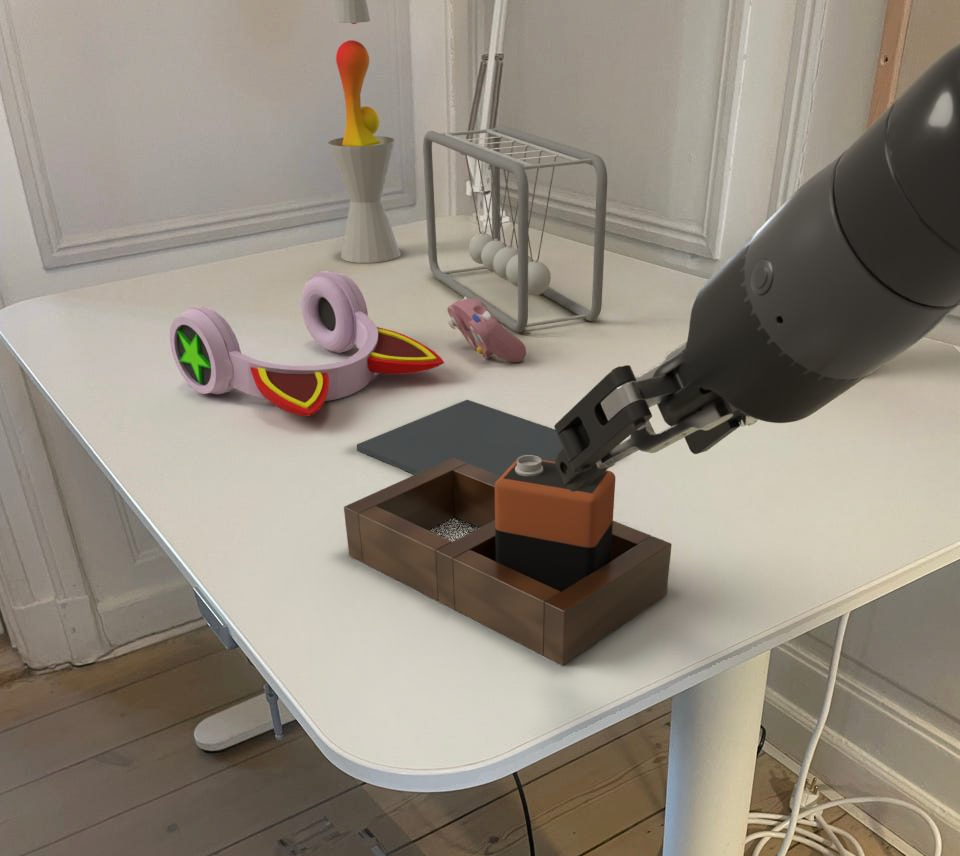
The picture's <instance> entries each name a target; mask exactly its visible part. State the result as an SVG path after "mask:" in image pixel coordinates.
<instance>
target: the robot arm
mask: <svg viewBox="0 0 960 856" xmlns="http://www.w3.org/2000/svg"><path fill="white" fill-rule="evenodd" d="M959 306H960V43H959V44H957V45H955V46H953V47H951V48H950V49H948V50H947V51H946V52H945V53H944V54H943V55H941V56H940V57H939V58H938V59H936V60H935V61H934V62H933V63H931V65H930V66H928V67H927V68H926V69H925V70H924V71H923V72H922V73H921V74H920V75H919V76H918V77H917V78H916V79H915V80H914V81H913V82H912V83H911V84H910V85H909V86H908V87H907V88H906V89H905V90H904V91H903V92H902V93H901V94H900V96H898V98H896V99H895V100H894V102H892V104H890V106H888V108H887V109H886V110H885V111H883V113H881V115H880V116H878V118H877V119H875V120H874V121H873V123H871V125H870V126H869V127H868V128H867V129H866V130H864V131H863V133H862V134H860V136H858V138H857V139H856V140H855V141H854V142H852V144H851V145H850V146H849V147H848V148H847V149H846V150H844V152H842V153H841V154H840V155H839V156H837V158H835V159H834V160H833V161H832V162H830V163H828V164H827V165H826V166H824V167H823V168H822V169H821V170H820V171H818V172H816V173H815V174H814V175H813V176H811V177H810V178H809V179H808V180H807V181H805V182H804V183H802V185H801V186H800V187H799V188H797V189H796V190H795V191H794V192H793V193H792V194H791V195H790V196H789V197H788V198H787V199H786V201H784V202H783V203H782V205H781V206H780V207H779V208H777V209H776V211H775V212H774V213H773V214H772V215H771V216H770V217H769V218H768V219H766V221H765V222H763V224H762V225H761V226H760V227H759V228H758V229H757V230H756V231H755V232H754V233H753V234H752V235H751V236H750V237H749V238H748V239H747V240H746V241H745V242H744V243H743V244H742V245H741V246H740V247H739V248H738V249H737V250H736V251H735V252H734V253H733V254H732V255H731V257H729V258H728V259H727V260H726V261H725V262H724V263H723V265H721V266H720V267H719V269H718V270H716V272H715V273H713V275H712V276H710V277H709V279H707V281H706V282H705V283H704V284H703V285H702V286H701V288H700V290H699V291H698V293H697V294H696V297H695V298H694V301H693V304H692V307H691V312H690V318H689V326H688V334H687V340H686V342H683V343H682V344H680V345H679V346H677V347H675V348H673V349H672V350H670V351H668V352H667V353H666V354H665V356H664V358H663V360H662V361H661V362H659V363H658V364H657V365H655V366H653V367H651V368H650V369H648V370H646V371H645V372H642V373H640V374H639V375H637V376H635V374H634V370H633V369H632V367H631V365H630V364H626V365H621V366H617V367H615V368H613V369H612V370H610V372H608V373H607V374H606V375H605V376H604V377H603V378H602V379H601V380H600V381H599V382H598V383H597V384H596V385H594V386H593V388H592V389H590V390H589V392H588V393H586V394H585V395H584V396H583V397H582V398H581V399H580V400H579V401H578V402H577V403H576V404H575V405H574V406H572V408H571V409H569V411H568V412H566V414H565V415H564V416H563V417H561V419H559V420H558V422H556V423H555V424H554V426H553V427H554V428H553V429H555V430H556V432H557V434H558V437H559V439H560V441H561V444H562V446H563V448H564V449H563V450H562V451H561V452H560V453H559V454H558V455H557V458H556V459H555V464H556V466H557V468H558V471H559V473H560V475H561V478H562V480H563V482H564V485H565V486H566V485H567V487H568V488H569V490H570V491H572V492H574V491H577V490H581V489H584V488H586V487H587V486H588V485H589V484H590V483H592V482H593V481H594V480H595V479H596V478H597V477H599V476H600V475H601V474H602V473H603V472H605V471H606V470H608V469H609V468H612V467H614V466H615V465H616V463H618V462H620V461H622V460H623V459H625V458H627V457H629V456H631V455H633V454H635V453H636V452H638V451H640V452H643V453H648V454H649V453H650V454H655V453H658V452H659V451H662V450H663V449H664V448H667V447H669V446H671V445H673V444H675V443H677V442H678V441H680V440H682V439H685V442H686V444H687V447H688V448H689V451H690V452H691V453H692V454H694V455H698V454H701V453H705V452H708V451H709V450H711V448H713V447H715V446H716V445H717V444H719V443H720V442H721V441H722V440H724V439H725V438H726V437H728V436H729V435H731V434H732V433H733V432H734V431H736V430H737V429H738V428H740V427H745V426H749V427H750V426H752V425H755V424H756V423H758V421H763V422H766V423H772V424H787V423H795V422H798V421H801V420H804V419H807V418H808V417H810V416H812V415H813V414H815V413H817V411H819V410H821V409H822V408H823V407H825V406H826V405H828V404H829V403H831V402H832V401H833V400H835V399H837V398H838V397H840V396H841V395H842V394H844V393H846V392H847V391H848V390H849V389H852V388H853V387H855V386H856V385H857V384H859V383H860V382H861V381H863V380H865V379H866V378H868V377H869V376H870V375H872V374H873V373H874V372H876V371H878V370H879V369H881V368H882V367H883V366H884V365H886V364H888V363H890V362H891V361H892V360H893V359H895V358H896V357H898V356H899V355H901V354H902V353H904V352H905V351H907V350H908V349H910V348H911V347H912V346H914V345H915V344H917V343H918V342H919V341H921V340H922V339H923V338H925V337H926V336H927V335H928V334H929V333H930V332H932V331H933V330H934V329H935V328H936V327H937V326H938V325H940V324H941V323H942V322H943V321H944V320H945V319H946V318H947V317H948V316H949V315H950V314H951V313H953V311H954V310H956V309H957V308H959ZM656 405H657V408H658V410H659V412H660V414H661V417H662V419H663V422H665V423H666V424H667V426H670V427H668V428H666V429H663V430H662V431H660V432H658V433H656V432H655V430H654V428H653V426H652V424H651V421H650V419H652V418H653V414H652V411H651V409H650V408H652V407H653V406H656Z"/></svg>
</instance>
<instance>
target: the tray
mask: <svg viewBox="0 0 960 856" xmlns="http://www.w3.org/2000/svg"><path fill="white" fill-rule="evenodd" d="M500 477H501V476H498V475H496V474H493V473H491V472H488V471H486V470H483V469H481V468H478V467H475V466H473V465H470V464H467V463H465V462H463V461H460V460H458V459H455V458H451V459H449V460H447V461H444V462H442V463H440V464H438V465H436V466H433V467H431V468H429V469H427V470H424V471H422V472H420V473H418V474H412V475H411V476H409V477H406V478H404V479H402V480H400V481H398V482H396V483H393V484H391V485H389V486H387V487H385V488H382V489H379V490H377V491H375V492H373V493H371V494H369V495H366V496H365V497H362V498H360V499H358V500H356V501H353V502H351V503H349V504H346V505H345V506H343V512H344V521H345V522H344V523H345V531H346V539H347V549H348V555H349V556H350V557H351V558H354V559H355V560H357V561H359V562H362V563H363V564H366V565H367V566H369V567H371V568H373V569H375V570H377V571H379V572H381V573H383V574H384V575H387V576H388V577H391V578H392V579H394V580H396V581H398V582H399V583H400V582H401V583H402V584H404V585H405V586H408V587H409V588H411V589H413V590H415V591H417V592H419V593H422V594H423V595H425V596H427V597H428V598H431V599H433V600H435V601H437V602H439V603H440V604H443V605H445V606H446V607H449V608H450V609H452V610H455V611H456V612H458V613H460V614H462V615H464V616H466V617H468V618H470V619H471V620H474V621H475V622H477V623H478V624H479V623H480V624H481V625H483V626H485V627H487V628H490V629H491V630H493V631H495V632H497V633H499V634H501V635H503V636H504V637H507V638H509V639H510V640H513V641H514V642H517V643H518V644H520V645H522V646H524V647H526V648H528V649H530V650H531V651H534V652H536V653H537V654H539V655H541V656H544V657H546V658H547V659H549V660H551V661H553V662H555V663H557V664H559V665H560V666H564V665H566V664H567V663H569V662H570V661H572V660H573V659H575V658H576V657H577V656H579V655H581V654H582V653H583V652H585V651H587V650H588V649H589V648H591V647H592V646H594V645H596V644H597V643H598V642H599V641H601V640H602V639H604V638H605V637H607V636H608V635H610V634H611V633H612V632H615V630H617V629H618V628H620V627H621V626H623V625H624V624H626V623H627V622H629V621H630V620H631V619H633V618H634V617H636V616H637V615H639V614H640V613H642V612H643V611H645V610H646V609H648V608H649V607H651V606H652V605H654V604H655V603H656V602H658V601H660V600H661V599H662V598H664V597H665V596H667V593H668V585H669V575H670V564H671V554H672V546H673V545H672V543H671V542H668V541H666V540H664V539H661V538H658V537H656V536H653V535H651V534H649V533H646V532H644V531H641V530H638V529H636V528H633V527H631V526H628V525H625V524H623V523H620V522H618V521H616V520H613V527H612V544H611V560H610V562H609V563H608V564H606V565H604V566H603V567H601V568H599V569H598V570H596V571H595V572H593V573H591V574H590V575H588V576H586V577H585V578H583V579H582V580H580V581H578V582H577V583H575V584H573V585H572V586H570V587H569V588H567V589H565V590H564V591H562V592H560V591H558V590H556V589H554V588H552V587H549V586H547V585H545V584H543V583H541V582H539V581H536V580H534V579H532V578H530V577H528V576H526V575H523V574H521V573H519V572H517V571H515V570H513V569H510V568H508V567H506V566H504V565H502V564H500V563H497V562H496V539H495V483H496V481H497V480H498V479H499V478H500ZM453 518H456V519H459V520H461V521H464V522H465V523H468V524H471V525H472V526H474V527H477V528H476V529H474V530H473V531H471V532H469V533H467V534H465V535H462V536H461V537H459V538H457V539H454V540H453V541H452V540H450V539H448V538H445V537H443V536H441V535H439V534H437V533H435V532H432V531H431V529H433V528H435V527H437V526H439V525H441V524H443V523H445V522H447V521H449V520H451V519H453Z"/></svg>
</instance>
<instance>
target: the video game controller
mask: <svg viewBox="0 0 960 856" xmlns="http://www.w3.org/2000/svg"><path fill="white" fill-rule="evenodd" d="M446 310H447V314H448V315H449V317H450V319H447V321H448V325H449V327H450V328H451V329H452V330H456V328H457V329H458V331H460V333H461V334H462V335H463V337H464V338H465V340H466V341H467V343H468V344H469V346H470V347H471V348H472V349H473V350H474V351H476V352H477V354H478V355H481V356H482V357H483V358H484V359H486V360H487V359H489V358H491V357H492V356H494V355H495V356H497V357H499V358H501V359H502V360H505V361H508V362H511V363H519V362H522V361H524V359H525V358H526V356H527V348H526V345H525V344H524V342H523V341H521V339H519V338H518V337H517V336H515V335H514V334H512V333H511V332H509V331H508V330H507V329H506V328H505V327H504V326H503V324H502V323H501V322H500V321H498V320H497V319H496V318H495V317H494V316H493V315H492V314H491V313H490V312H489V311H488V308H487V307H486V305H485V304H484V303H483V302H481V301H479V300H476V299H467V298H466V296H465V297H463V299H457V300H456V301H455V302H453V303H452V304H450V305H449V306H448V307H447V308H446Z"/></svg>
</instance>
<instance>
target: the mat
mask: <svg viewBox="0 0 960 856" xmlns="http://www.w3.org/2000/svg"><path fill="white" fill-rule="evenodd" d="M563 449H564V448H563V446H562V444H561V441H560V439H559V437H558V434H557V432H556V430H555V428H552V427H549V426H546V425H543V424H540V423H537V422H535V421H531V420H529V419H525V418H522V417H519V416H516V415H514V414H511V413H508V412H505V411H502V410H499V409H496V408H494V407H490V406H487V405H484V404H481V403H478V402H476V401H473V400H469V399H465V400H463V401H460V402H457V403H456V404H453V405H450V406H447V407H446V408H442V409H440V410H438V411H436V412H433V413H430V414H428V415H425V416H423V417H420V418H418V419H416V420H413V421H411V422H408V423H406V424H403V425H401V426H399V427H396V428H393V429H390V430H388V431H386V432H384V433H381V434H379V435H376V436H374V437H372V438H369V439H366V440H364V441H362V442H358V443H357V444H356V451H357V452H360V453H362V454H365V455H367V456H369V457H371V458H374V459H377V460H379V461H382V462H384V463H386V464H389V465H391V466H394V467H396V468H398V469H401V470H403V471H405V472H407V473H409V474H410V473H411V474H412V475H415V474H418V473H420V472H422V471H424V470H427V469H429V468H431V467H433V466H436V465H438V464H440V463H442V462H444V461H447V460H449V459H451V458H455V459H458V460H460V461H463V462H465V463H467V464H470V465H473V466H475V467H478V468H481V469H483V470H486V471H488V472H491V473H493V474H496V475H498V476H502V475H503V474H504V473H505V472H506V471H507V469H508V468H509V467H510V466H511V465H512V464H513V463H514V462H515V461H516V460H517V459H518V458H519V457H521V456H524V455H534V456H537V457H539V458H541V460H546V461H552V462H555V459H556V458H557V455H558V454H559V453H560V452H561V451H562V450H563Z"/></svg>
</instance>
